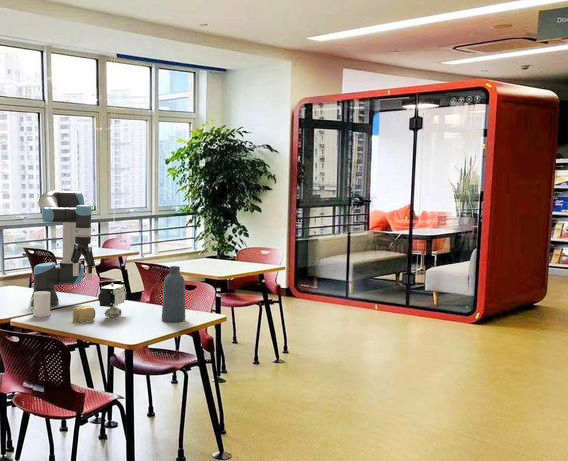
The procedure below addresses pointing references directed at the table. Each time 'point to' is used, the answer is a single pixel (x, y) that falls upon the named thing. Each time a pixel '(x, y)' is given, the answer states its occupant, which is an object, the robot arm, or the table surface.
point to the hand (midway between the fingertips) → (82, 277)
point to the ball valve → (112, 299)
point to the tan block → (83, 314)
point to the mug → (41, 304)
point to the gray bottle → (174, 297)
